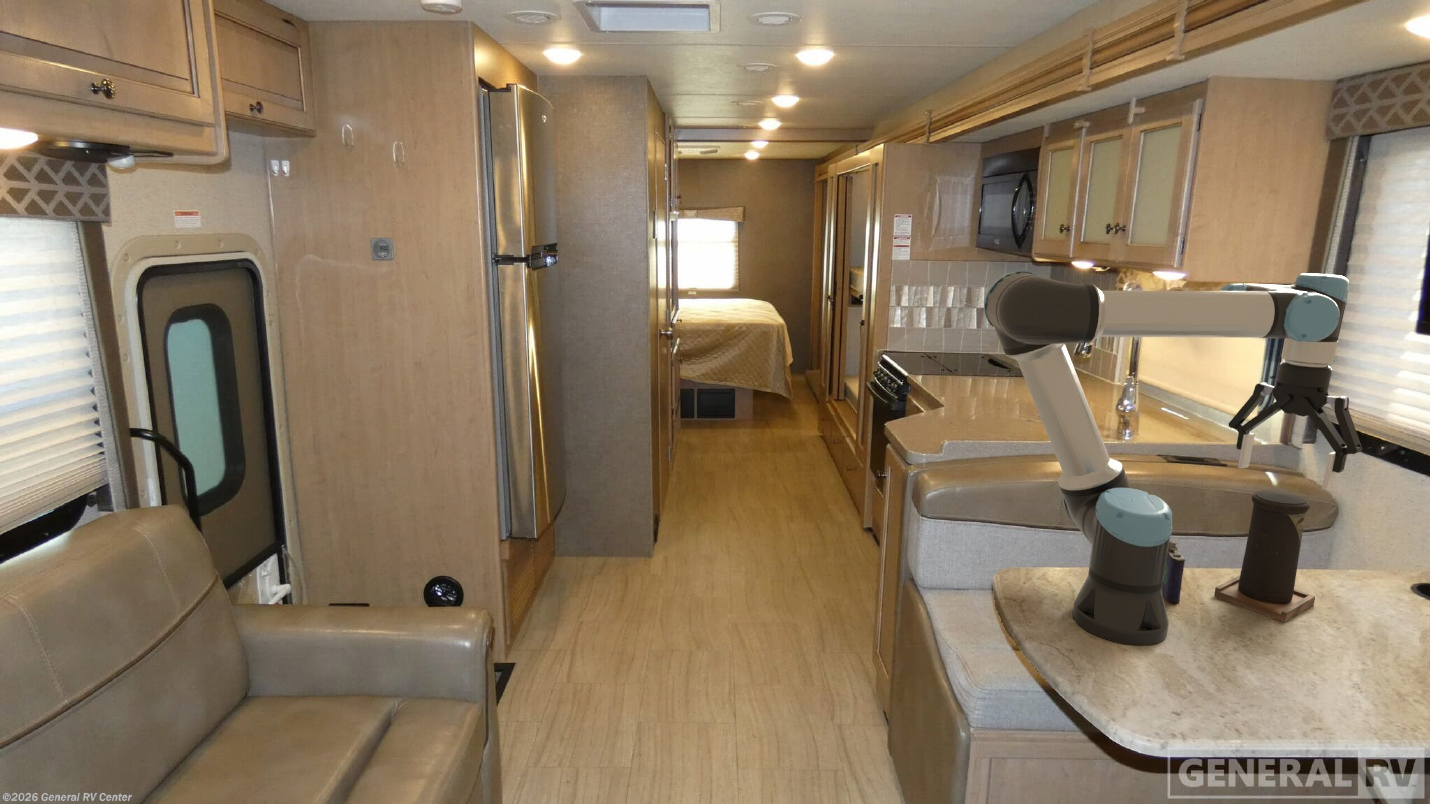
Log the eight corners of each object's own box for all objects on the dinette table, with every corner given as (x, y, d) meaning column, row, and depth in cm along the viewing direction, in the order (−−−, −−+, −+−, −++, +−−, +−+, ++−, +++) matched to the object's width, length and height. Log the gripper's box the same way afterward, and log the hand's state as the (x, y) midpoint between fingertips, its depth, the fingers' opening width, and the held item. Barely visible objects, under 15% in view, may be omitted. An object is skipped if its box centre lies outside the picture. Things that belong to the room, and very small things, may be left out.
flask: (1146, 582, 159) (1153, 531, 157) (1161, 583, 159) (1169, 532, 156) (1167, 604, 150) (1176, 551, 148) (1184, 605, 150) (1193, 552, 148)
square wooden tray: (1284, 622, 144) (1286, 613, 144) (1214, 595, 154) (1215, 587, 153) (1313, 605, 150) (1315, 596, 150) (1244, 580, 160) (1245, 572, 160)
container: (1302, 607, 147) (1321, 504, 142) (1247, 602, 149) (1264, 500, 144) (1280, 586, 155) (1297, 488, 150) (1228, 582, 157) (1244, 484, 152)
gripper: (1402, 373, 133) (1374, 494, 138) (1240, 350, 154) (1221, 456, 159) (1385, 377, 129) (1357, 502, 134) (1220, 353, 150) (1201, 462, 154)
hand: (1283, 477), depth 146 cm, fingers open, 13 cm apart
